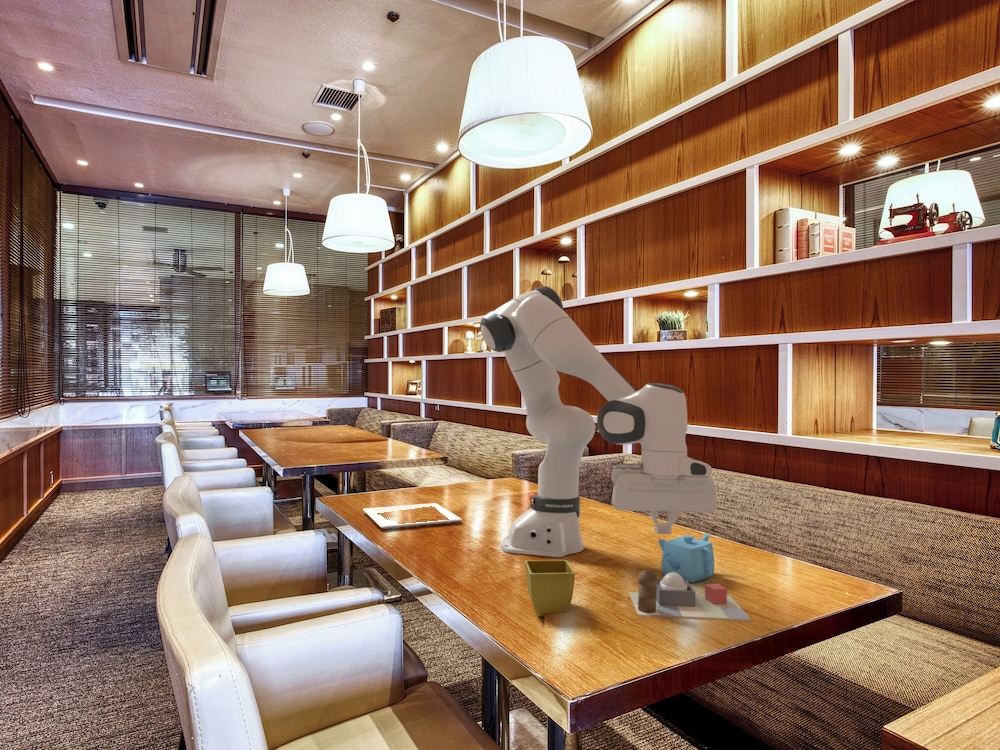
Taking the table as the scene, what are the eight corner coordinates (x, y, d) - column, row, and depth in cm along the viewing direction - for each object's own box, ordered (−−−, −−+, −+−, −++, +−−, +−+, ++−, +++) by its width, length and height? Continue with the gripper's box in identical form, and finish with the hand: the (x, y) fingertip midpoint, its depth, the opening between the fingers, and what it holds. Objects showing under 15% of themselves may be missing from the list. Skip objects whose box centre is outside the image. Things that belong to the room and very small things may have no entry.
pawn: (638, 612, 111) (639, 572, 111) (635, 605, 115) (637, 566, 115) (658, 614, 111) (659, 573, 111) (655, 606, 115) (656, 567, 115)
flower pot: (523, 603, 118) (524, 559, 118) (566, 603, 118) (566, 559, 119) (529, 621, 109) (530, 573, 109) (575, 620, 110) (575, 573, 110)
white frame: (362, 514, 196) (362, 508, 196) (435, 508, 207) (436, 502, 207) (380, 533, 172) (380, 526, 172) (462, 525, 183) (462, 518, 183)
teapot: (690, 596, 123) (691, 548, 123) (636, 578, 134) (637, 535, 134) (733, 579, 135) (734, 535, 135) (680, 564, 146) (681, 523, 146)
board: (638, 621, 110) (639, 600, 110) (628, 596, 123) (628, 577, 123) (753, 626, 108) (753, 605, 108) (730, 600, 121) (730, 581, 121)
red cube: (713, 604, 116) (713, 589, 116) (705, 599, 119) (705, 584, 119) (726, 603, 117) (726, 588, 117) (718, 598, 120) (718, 583, 120)
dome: (662, 602, 116) (662, 576, 116) (657, 593, 121) (657, 568, 121) (690, 603, 116) (690, 577, 116) (683, 594, 121) (683, 569, 121)
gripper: (613, 464, 113) (612, 535, 113) (720, 467, 112) (719, 539, 112) (609, 460, 120) (608, 527, 120) (709, 463, 119) (709, 530, 118)
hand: (663, 533), depth 116 cm, fingers closed
